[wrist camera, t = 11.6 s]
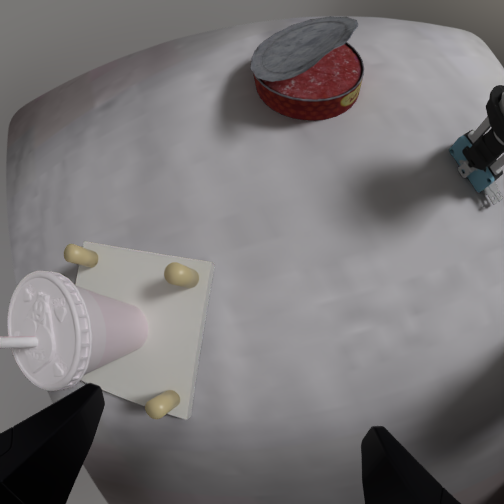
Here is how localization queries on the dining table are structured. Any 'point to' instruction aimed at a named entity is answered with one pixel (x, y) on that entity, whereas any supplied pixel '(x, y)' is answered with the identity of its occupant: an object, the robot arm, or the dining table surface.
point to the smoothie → (68, 330)
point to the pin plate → (151, 322)
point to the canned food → (309, 69)
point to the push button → (484, 149)
